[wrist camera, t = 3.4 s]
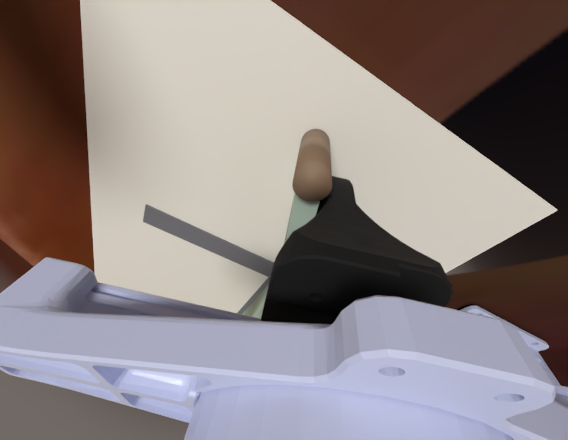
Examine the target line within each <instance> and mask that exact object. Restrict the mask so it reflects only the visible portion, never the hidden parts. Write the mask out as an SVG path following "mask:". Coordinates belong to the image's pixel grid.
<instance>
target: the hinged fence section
mask: <svg viewBox="0 0 568 440" xmlns="http://www.w3.org/2000/svg"><path fill="white" fill-rule="evenodd" d="M292 186H293V190H294V192H295V193H294V198H293V203H292V208H291V212H290V217H289V222H288V227H287V232H286V237H285V242H286V240H287V239H288V238H289V236H290V235H291V234H292V232H293V231H295V230H297V229H298V228H300V227H302V226H303V225H305V224H306V223H308V222H309V221H310V220H311V219H313V218H314V217H315V216H316V212H317V209H318V206H319V202H320V200H322V199H324V198H326V197H327V196H328V195H329V193H330V192H331V189H332V170H331V154H330V140H329V137H328V135H327V134H326V133H325V132H324V131H323V130H320V129H311V130H309V131H307V132H306V133H305V134H304V135H303V137H302V139H301V144H300V148H299V153H298V158H297V163H296V168H295V173H294V177H293V183H292ZM285 242H284V243H285Z"/></svg>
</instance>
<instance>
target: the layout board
mask: <svg viewBox="0 0 568 440" xmlns="http://www.w3.org/2000/svg"><path fill="white" fill-rule="evenodd" d="M80 9H81V28H82V46H83V64H84V83H85V101H86V120H87V138H88V157H89V175H90V194H91V212H92V231H93V249H94V268H95V276H96V279H97V282H99V283H104V284H108V285H113V286H117V287H122V288H126V289H130V290H135V291H139V292H144V293H148V294H153V295H157V296H162V297H166V298H171V299H175V300H180V301H184V302H189V303H193V304H197V305H202V306H206V307H211V308H215V309H220V310H224V311H229V312H233V313H238V314H242V313H243V312H244V311H245V310H246V308H247V307H248V306H249V305H250V304H251V303H252V302H253V301H254V300H255V299H256V298H257V296H258V295H259V294H260V293H261V292H262V291H263V290H264V289H265V288H266V287H267V285H268V284H269V281H270V277H271V272H272V268H273V264H274V262H275V259H276V257H277V255H278V253H279V251H280V250H281V248H282V246H283V245H284V242H285V237H286V232H287V227H288V222H289V217H290V212H291V208H292V203H293V198H294V193H295V192H294V190H293V186H292V183H293V177H294V173H295V168H296V163H297V158H298V153H299V148H300V144H301V139H302V137H303V135H304V134H305V133H306V132H307V131H309V130H311V129H320V130H323V131H324V132H325V133H326V134H327V135H328V137H329V140H330V154H331V170H332V176H335V177H339V178H343V179H348V180H349V181H350V182H351V183H352V185H353V189H354V195H355V201H356V204H357V205H358V206H359V207H360V208H361V209H362V210H363V211H364V212H365V213H366V214H367V215H368V216H369V217H370V218H371V219H372V220H373V221H374V222H375V223H377V224H378V225H379V226H380V227H382V228H383V229H384V230H386V231H387V232H388V233H390V234H391V235H392V236H394V237H395V238H397V239H398V240H400V241H401V242H403V243H405V244H406V245H408V246H409V247H411V248H413V249H414V250H416V251H418V252H420V253H422V254H424V255H426V256H428V257H430V258H432V259H433V260H435V261H437V262H439V263H440V264H441V265H442V267H443V269H444V271H445V273H446V272H448V271H450V270H452V269H454V268H455V267H457V266H459V265H461V264H462V263H464V262H466V261H468V260H470V259H471V258H473V257H475V256H477V255H479V254H480V253H482V252H484V251H486V250H488V249H489V248H491V247H493V246H495V245H496V244H498V243H500V242H502V241H504V240H505V239H507V238H509V237H511V236H513V235H514V234H516V233H518V232H520V231H521V230H523V229H525V228H527V227H528V226H530V225H532V224H534V223H536V222H538V221H539V220H541V219H543V218H545V217H547V216H548V215H550V214H552V213H554V212H555V211H557V209H556V208H554V207H553V206H552V205H550V204H549V203H548V202H546V201H545V200H544V199H542V198H541V197H539V196H538V195H537V194H535V193H534V192H533V191H531V190H530V189H528V188H527V187H526V186H524V185H523V184H522V183H520V182H519V181H517V180H516V179H515V178H513V177H512V176H511V175H509V174H508V173H507V172H505V171H504V170H502V169H501V168H500V167H498V166H497V165H496V164H494V163H493V162H491V161H490V160H489V159H487V158H486V157H485V156H483V155H482V154H480V153H479V152H478V151H476V150H475V149H474V148H472V147H471V146H470V145H468V144H467V143H465V142H464V141H462V140H461V139H460V138H459V137H457V136H456V135H454V134H453V133H452V132H450V131H449V130H448V129H446V128H445V127H444V126H442V125H441V124H439V123H438V122H437V121H435V120H434V119H433V118H431V117H430V116H428V115H427V114H426V113H424V112H423V111H422V110H420V109H419V108H417V107H416V106H415V105H413V104H412V103H411V102H409V101H408V100H407V99H405V98H404V97H402V96H401V95H400V94H398V93H397V92H396V91H394V90H393V89H391V88H390V87H389V86H387V85H386V84H385V83H383V82H382V81H380V80H379V79H378V78H376V77H375V76H374V75H372V74H371V73H369V72H368V71H367V70H365V69H364V68H363V67H361V66H360V65H359V64H357V63H356V62H354V61H353V60H352V59H350V58H349V57H348V56H346V55H345V54H343V53H342V52H341V51H339V50H338V49H337V48H335V47H334V46H332V45H331V44H330V43H328V42H327V41H326V40H324V39H323V38H322V37H320V36H319V35H317V34H316V33H315V32H313V31H312V30H311V29H309V28H308V27H306V26H305V25H304V24H302V23H301V22H300V21H298V20H297V19H295V18H294V17H293V16H291V15H290V14H289V13H287V12H286V11H285V10H283V9H282V8H280V7H279V6H278V5H276V4H275V3H274V2H272V1H271V0H80Z"/></svg>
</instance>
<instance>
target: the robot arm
mask: <svg viewBox="0 0 568 440" xmlns="http://www.w3.org/2000/svg"><path fill="white" fill-rule="evenodd" d="M452 294H453V290H452V285H451V283H450V281H449V279H448V277H447V275H446V273H445V271H444V269H443V267H442V265H441V264H440V263H439V262H437V261H435V260H433V259H432V258H430V257H428V256H426V255H424V254H422V253H420V252H418V251H416V250H414V249H413V248H411V247H409V246H408V245H406V244H405V243H403V242H401V241H400V240H398V239H397V238H395V237H394V236H392V235H391V234H390V233H388V232H387V231H386V230H384V229H383V228H382V227H380V226H379V225H378V224H377V223H375V222H374V221H373V220H372V219H371V218H370V217H369V216H368V215H367V214H366V213H365V212H364V211H363V210H362V209H361V208H360V207H359V206H358V205H357V204H356V201H355V195H354V189H353V185H352V183H351V182H350V181H349V180H348V179H343V178H339V177H335V176H332V189H331V192H330V193H329V195H328V196H327V197H326V198H324V199H322V200H320V202H319V206H318V209H317V212H316V216H315V217H314V218H313V219H311V220H310V221H309V222H308V223H306V224H305V225H303V226H302V227H300V228H298V229H297V230H295V231H293V232H292V234H291V235H290V236H289V238H288V239H287V240H286V242H285V243H284V245H283V246H282V248H281V250H280V251H279V253H278V255H277V257H276V259H275V262H274V264H273V268H272V272H271V277H270V281H269V286H268V290H267V294H266V299H265V303H264V308H263V312H262V316H261V319H260V318H256V317H251V316H247V315H242V314H238V313H233V312H229V311H224V310H220V309H215V308H211V307H206V306H202V305H197V304H193V303H189V302H184V301H180V300H175V299H171V298H166V297H162V296H157V295H153V294H148V293H144V292H139V291H135V290H130V289H126V288H122V287H117V286H113V285H108V284H104V283H99V282H97V279H96V276H95V274H94V273H93V272H92V270H91V269H89V268H88V267H86V266H84V265H81V264H77V263H73V262H68V261H64V260H59V259H55V258H50V257H49V258H45V259H43V260H42V261H41V262H40V263H38V264H37V265H36V266H34V267H33V268H32V269H31V270H29V271H28V272H27V273H26V274H24V275H23V276H22V277H21V278H19V279H18V280H17V281H16V282H14V283H13V284H12V285H11V286H9V287H8V288H7V289H6V290H4V291H3V292H2V293H0V370H2V371H4V372H6V373H7V374H9V375H13V376H17V377H21V378H25V379H30V380H34V381H38V382H43V383H47V384H51V385H55V386H59V387H62V388H66V389H70V390H74V391H78V392H81V393H85V394H89V395H92V396H96V397H100V398H103V399H107V400H110V401H114V402H117V403H121V404H124V405H128V406H131V407H135V408H139V409H142V410H145V411H149V412H153V413H156V414H160V415H163V416H167V417H171V418H174V419H177V420H181V421H184V422H188V423H189V426H188V429H187V432H186V435H185V438H184V440H568V387H564V386H561V385H560V384H559V382H558V381H557V379H556V378H555V376H554V375H553V373H552V372H551V370H550V369H549V368H548V366H547V365H546V363H545V362H544V360H543V359H542V357H541V356H540V354H539V353H538V351H541V350H545V349H547V348H549V346H548V344H547V343H546V342H545V341H543V340H541V339H539V338H537V337H536V336H534V335H532V334H530V333H528V332H526V331H524V330H522V329H520V328H518V327H516V326H515V325H513V324H511V323H509V322H507V321H505V320H503V319H501V318H499V317H497V316H495V315H494V314H492V313H490V312H488V311H486V310H484V309H482V308H480V307H478V306H474V305H472V306H468V307H466V308H463V309H461V310H455V309H451V308H446V307H444V306H445V305H446V304H447V303H448V302H449V301H450V299H451V296H452Z"/></svg>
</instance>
